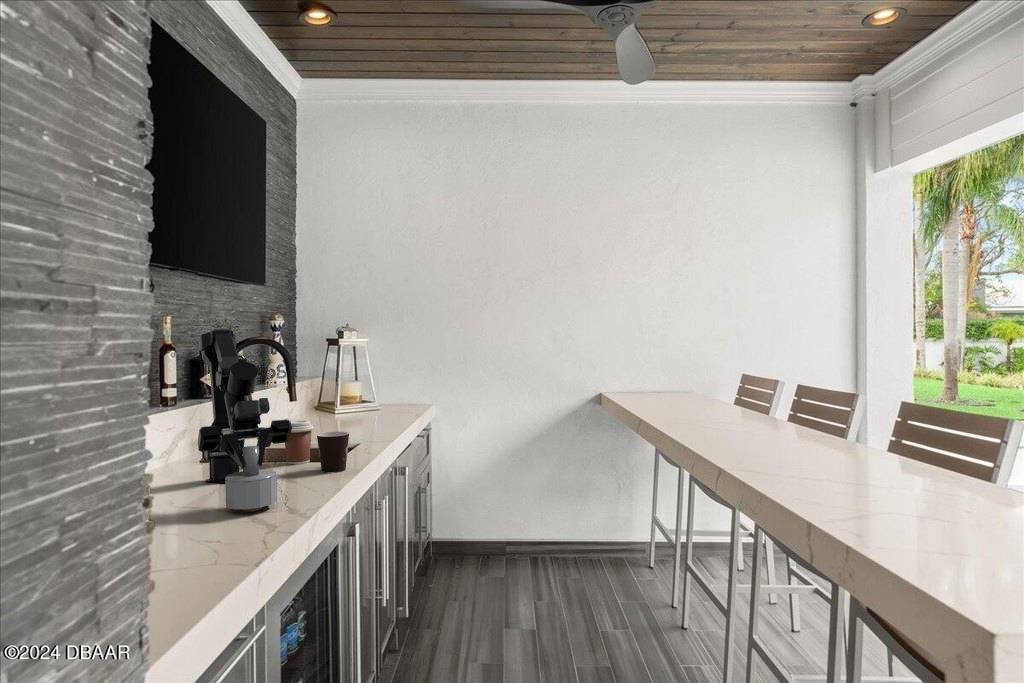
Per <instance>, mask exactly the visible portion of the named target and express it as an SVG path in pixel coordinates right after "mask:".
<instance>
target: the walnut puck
mask: <svg viewBox="0 0 1024 683" xmlns="http://www.w3.org/2000/svg"><path fill="white" fill-rule="evenodd" d="M262 509H263V507H260V508H253V509H241V511H242V513H243V512H244V513H254V512H258V511H261V510H262Z"/></svg>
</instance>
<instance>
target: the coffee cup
mask: <svg viewBox="0 0 1024 683" xmlns="http://www.w3.org/2000/svg"><path fill="white" fill-rule="evenodd" d="M289 421H290V422H291V425H292V430H291V433H290V437H289V440H288V442H286V443H284V448H285V458H286V464H287V465H290V464H298V465H305V464H309V463H310V462H311V460H310V459H311V446H312V445H311V442H312V431H314V429H315V427H314V425H312V424H311V421H310V420H306V419H305V420H304V419H299V420H297V419H295V420H289Z"/></svg>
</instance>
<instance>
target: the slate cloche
mask: <svg viewBox="0 0 1024 683" xmlns="http://www.w3.org/2000/svg"><path fill="white" fill-rule="evenodd" d="M243 459H244V465H245V467H244V469H242V471H239V472H236V473H232V474H229V475H227V476H226V478H225V483H224V485H225V487H224V488H225V507H226V508H227V509H231V510H242V509H253V508H260V507H262V508H264V507H266V506H271V505H273V504H275V503H276V502H278V487H277V486H278V482H277V481H278V479H277V478H278V476H277V472H276V471H275V470H272V469H271V470H270V469H260V466H259V446H257V445H247V446H244V447H243Z"/></svg>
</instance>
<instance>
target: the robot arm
mask: <svg viewBox="0 0 1024 683" xmlns="http://www.w3.org/2000/svg"><path fill="white" fill-rule="evenodd" d="M198 350H199V352H200V353H201V359H202V360H203V362H204V363H205V364H206V366H208V367H209V378H210V380H209V381H210V392H211V403H212V414H213V421H212V423H211V425H205V426H201V427H200V428H199V429H198V436H197V447H198V452H200V453H204V458H205V459H206V460H207V461H208V462H209V463H208V464H209V478H208V479H205V480H204V482H205V483H217V484H219V483H222V484H225V478H226V476H227V475H229V474H232V473H236V472H240V469H242V470H243V469H244V467H245V465H244V459H243V447H245V441H246V440H252V439H256V440H257V443H256V446H259V467H262V466H263V462H264V455H265V450H266V448H270V447H271V445H272V444H274V445H277V444H279V445H280V444H285V443H286V442H288V440H289V437H290V433H291V430H292V425H291V422H290V421H291V420H289V419H287V418H286V419H274V420H271V422H270V426H269V427H265V426H263V427H261V426H260V427H259V425H261V423H262V419H261V416H262V415H265V414H268V413H269V411H270V410H271V409H270V408H271V407H270V402H269V398H268V397H261V398H260V397H259V399H253V396H252V395H253V394H254V393H255V389H256V385H257V381H258V380H259V379H258V376H259V368H258V367H257V366H256V365H255V364H253V363H252V362H249V361H248V360H247V358H240V357H239V354H238V351H237V341H236V333H234V331H233V330H232V329H229V328H227V329H226V328H222V329H220V328H219V329H218V328H214V329H213V330H212V329H211V330H210V331H209V332H205V333H202V334H201V335H200V336H199V338H198Z"/></svg>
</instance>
